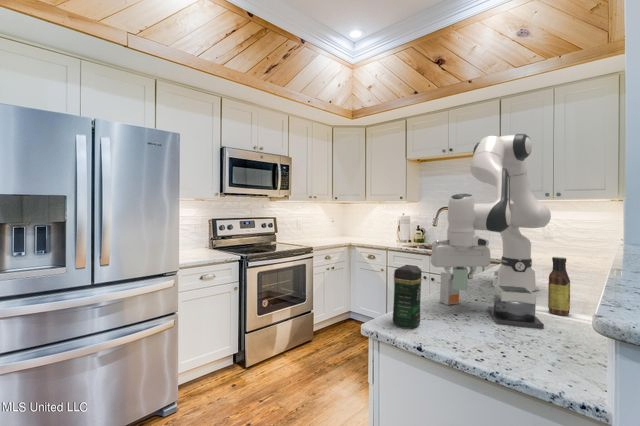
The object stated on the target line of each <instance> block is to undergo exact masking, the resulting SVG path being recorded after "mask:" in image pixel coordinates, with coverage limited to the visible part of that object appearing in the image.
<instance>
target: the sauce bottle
mask: <svg viewBox="0 0 640 426" xmlns="http://www.w3.org/2000/svg"><path fill="white" fill-rule="evenodd" d="M551 260H552V271H551V272H550V273H549V275H548V283H547V284H548V288H547V289H548V290H547V292H548V293H547V296H548V297H547V303H548V304H547V306H548V307H547V308H548V312H549V313H550V314H553V315H557V316H569V315H570V310H571V280H570V277H569V275H568V272H567V267H566V265H567V258H566V257H563V256H552V257H551Z"/></svg>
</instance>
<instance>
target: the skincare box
mask: <svg viewBox="0 0 640 426" xmlns="http://www.w3.org/2000/svg"><path fill="white" fill-rule="evenodd" d="M449 271H450V273H451V274H453V270H449ZM452 282H453V280H449V279H447V273H446V271H441V272H440V286H439V287H440V288H439V293H440V294H439V302H440V303H442V304H444V305H446V306H451V305H456V304H457V305H458V304H460V290H454V289H453V286H452Z"/></svg>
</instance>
